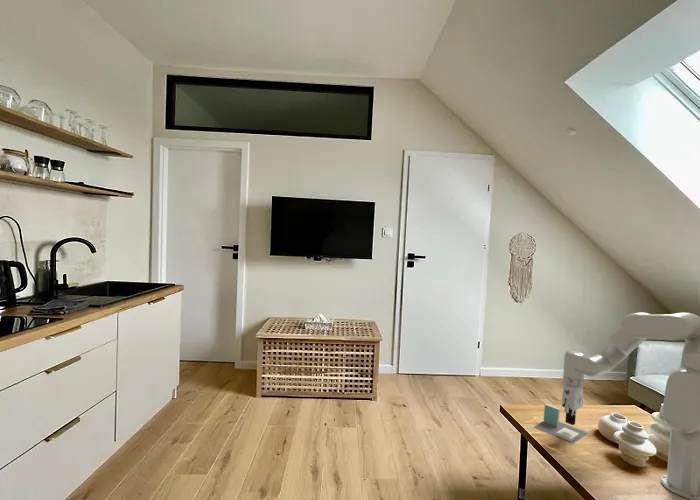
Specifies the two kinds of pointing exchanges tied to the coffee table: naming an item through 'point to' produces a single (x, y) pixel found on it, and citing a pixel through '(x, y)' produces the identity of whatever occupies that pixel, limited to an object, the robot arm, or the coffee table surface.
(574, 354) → the robot arm
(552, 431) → the mat
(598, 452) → the coffee table surface
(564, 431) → the tile
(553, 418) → the tile
